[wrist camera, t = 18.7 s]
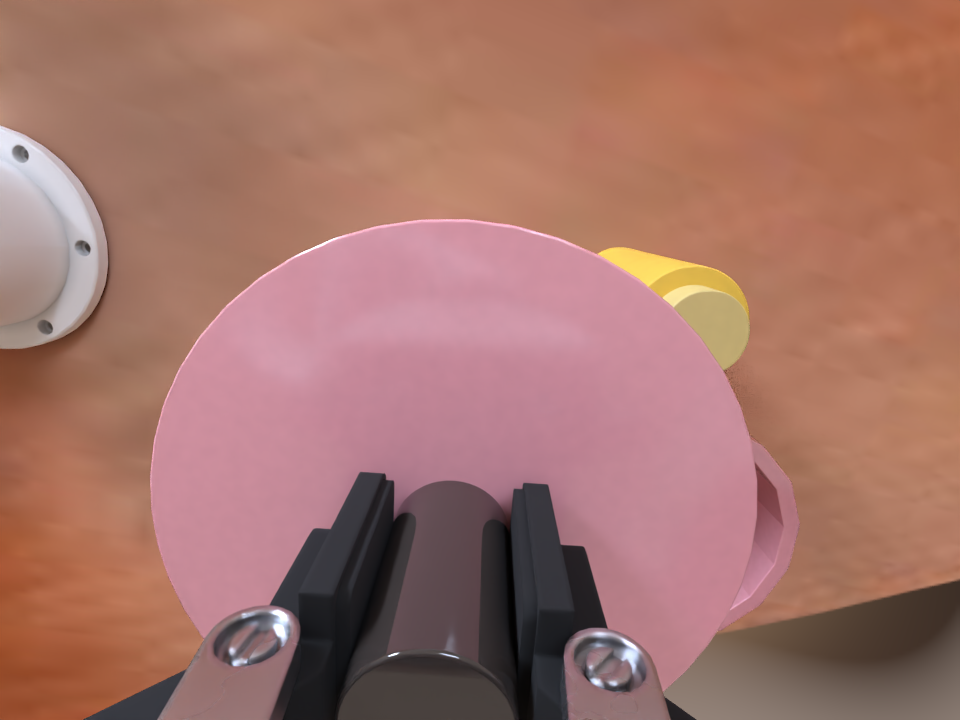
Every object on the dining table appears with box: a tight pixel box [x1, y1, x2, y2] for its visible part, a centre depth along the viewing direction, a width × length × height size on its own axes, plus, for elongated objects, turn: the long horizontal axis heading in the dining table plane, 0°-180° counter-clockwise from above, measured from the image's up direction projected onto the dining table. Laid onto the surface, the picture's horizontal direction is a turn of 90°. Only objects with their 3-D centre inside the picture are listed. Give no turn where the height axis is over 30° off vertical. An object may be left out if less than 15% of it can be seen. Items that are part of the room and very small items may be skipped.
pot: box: [718, 436, 800, 631], centre depth 31 cm, size 13×18×8 cm
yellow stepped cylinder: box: [598, 247, 750, 371], centre depth 25 cm, size 5×5×13 cm
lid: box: [150, 219, 757, 720], centre depth 10 cm, size 14×14×6 cm
